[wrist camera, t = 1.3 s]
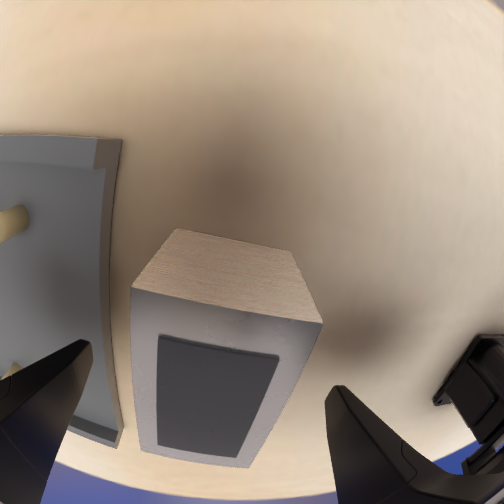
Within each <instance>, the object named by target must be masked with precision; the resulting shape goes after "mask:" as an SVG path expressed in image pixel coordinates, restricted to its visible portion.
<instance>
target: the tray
mask: <svg viewBox="0 0 504 504" xmlns="http://www.w3.org/2000/svg"><path fill="white" fill-rule="evenodd" d="M121 144H122V140H121V139H111V138H100V137H87V136H71V135H46V134H8V135H0V380H2V379H4V378H6V377H8V376H9V375H11V376H12V374H13V373H15V372H17V371H19V370H21V369H23V368H25V367H27V366H29V365H31V364H33V363H34V362H36V361H38V360H40V359H42V358H44V357H46V356H48V355H50V354H52V353H54V352H56V351H57V350H59V349H61V348H63V347H65V346H67V345H69V344H71V343H73V342H75V341H77V340H79V339H84V340H87V341H90V342H91V344H92V351H93V357H94V360H93V365H92V368H91V370H90V373H89V376H88V379H87V382H86V385H85V388H84V391H83V394H82V396H81V399H80V401H79V403H78V405H77V408H76V410H75V412H74V414H73V417H72V419H71V421H70V423H69V426H68V428H67V430H69V431H71V432H73V433H75V434H78V435H80V436H83V437H85V438H88V439H90V440H93V441H95V442H98V443H101V444H104V445H107V446H109V447H112V448H115V449H117V447H118V444H119V441H120V438H121V435H122V432H123V429H124V426H123V421H122V416H121V411H120V405H119V399H118V393H117V386H116V379H115V371H114V363H113V353H112V341H111V327H110V306H109V256H110V235H111V220H112V209H113V199H114V190H115V182H116V175H117V168H118V161H119V155H120V149H121Z"/></svg>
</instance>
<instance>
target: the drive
mask: <svg viewBox="0 0 504 504" xmlns="http://www.w3.org/2000/svg"><path fill="white" fill-rule="evenodd" d="M323 324H324V323H323V321H322V319H321V316H320V314H319V312H318V310H317V308H316V305H315V303H314V301H313V299H312V296H311V294H310V292H309V290H308V288H307V285H306V283H305V281H304V279H303V277H302V275H301V272H300V270H299V268H298V266H297V264H296V262H295V260H294V257H293V255H292V253H291V252H290V251H285V250H280V249H276V248H271V247H266V246H262V245H257V244H252V243H247V242H243V241H238V240H233V239H228V238H224V237H219V236H214V235H209V234H204V233H199V232H195V231H190V230H185V229H180V228H176V229H175V230H174V231H173V232H172V234H171V235H170V236H169V237H168V239H167V240H166V241H165V242H164V244H163V245H162V246H161V247H160V249H159V250H158V251H157V252H156V254H155V255H154V256H153V258H152V259H151V260H150V261H149V263H148V264H147V265H146V267H145V268H144V269H143V271H142V272H141V273H140V275H139V276H138V277H137V279H136V280H135V281H134V283H133V284H132V285H131V293H130V342H131V366H132V381H133V393H134V403H135V412H136V421H137V428H138V435H139V442H140V448H141V451H144V452H148V453H152V454H156V455H160V456H164V457H169V458H174V459H179V460H184V461H190V462H196V463H202V464H209V465H217V466H226V467H237V468H249V467H250V465H251V464H252V462H253V460H254V459H255V457H256V455H257V454H258V452H259V450H260V449H261V447H262V445H263V444H264V442H265V440H266V439H267V437H268V435H269V433H270V432H271V430H272V428H273V426H274V424H275V423H276V421H277V419H278V417H279V415H280V413H281V412H282V410H283V408H284V406H285V404H286V402H287V400H288V398H289V396H290V394H291V392H292V390H293V388H294V386H295V384H296V382H297V380H298V378H299V376H300V374H301V372H302V370H303V368H304V366H305V364H306V362H307V359H308V357H309V355H310V353H311V351H312V349H313V346H314V344H315V342H316V340H317V337H318V335H319V333H320V331H321V328H322V326H323Z"/></svg>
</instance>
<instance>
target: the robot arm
mask: <svg viewBox="0 0 504 504" xmlns="http://www.w3.org/2000/svg"><path fill="white" fill-rule="evenodd" d="M93 360H94V357H93V351H92V344H91V342H90V341H87V340H84V339H79V340H77V341H75V342H73V343H71V344H69V345H67V346H65V347H63V348H61V349H59V350H57V351H56V352H54V353H52V354H50V355H48V356H46V357H44V358H42V359H40V360H38V361H36V362H34V363H33V364H31V365H29V366H27V367H25V368H23V369H21V370H19V371H17V372H15V373H13V374H12V376H11V375H9V376H8V377H6V378H4V379H2V380H0V504H40V502H41V499H42V496H43V493H44V489H45V486H46V483H47V480H48V477H49V474H50V471H51V468H52V466H53V463H54V461H55V458H56V455H57V453H58V450H59V448H60V445H61V443H62V440H63V438H64V435H65V433H66V430H67V428H68V426H69V423H70V421H71V419H72V417H73V414H74V412H75V410H76V408H77V405H78V403H79V401H80V399H81V396H82V394H83V391H84V388H85V385H86V382H87V379H88V376H89V373H90V370H91V368H92V365H93ZM433 403H434V405H435V406H440V405H445V404H449V403H453V405H454V406H455V408H456V409H457V411H458V412H459V414H460V416H461V417H462V419H463V420H464V422H465V423H466V425H467V427H468V428H470V430H471V431H472V433H473V434H474V436H475V438H476V439H477V441H478V443H479V444H482V446H481V447H480V448H479V449H478V450H477V451H476V452H475V453H474V454H472V455H471V456H470V457H468V458H466V459H465V460H464V461H463V462H462V463H461V464H462V469H463V474H464V475H456V474H451V473H448V472H446V471H444V470H443V469H441V468H440V467H438V466H437V465H436V464H434V463H433V462H431V461H430V460H428V459H427V458H425V457H424V456H423V455H421V454H420V453H419V452H417V451H416V450H415V449H414V448H413V447H411V446H410V445H409V444H408V443H407V442H406V441H404V440H403V439H402V438H401V437H400V436H399V435H398V434H397V433H395V432H394V431H393V430H392V429H391V428H390V427H389V426H388V425H387V424H385V423H384V422H383V421H382V420H381V419H380V418H379V417H378V416H377V415H376V414H375V413H373V412H372V411H371V410H370V409H369V408H368V407H367V406H366V405H365V404H364V403H363V402H362V401H361V400H359V399H358V398H357V397H356V396H355V395H354V394H353V393H352V392H351V391H350V390H349V389H348V388H347V387H346V386H343V385H335V386H333V388H332V389H331V391H330V393H329V394H328V396H327V397H326V400H325V415H326V430H327V439H328V445H329V450H330V456H331V462H332V467H333V473H334V479H335V485H336V491H337V498H338V504H504V446H503V447H502V448H501V449H500V450H499V451H498V452H497V453H496V451H495V450H497V449H498V448H499V447H500V446H501V445H502V444H503V443H504V335H479V336H477V337H476V338H475V340H474V341H473V343H472V345H471V346H470V348H469V350H468V351H467V353H466V354H465V356H464V357H463V359H462V361H461V362H460V364H459V365H458V367H457V368H456V370H455V371H454V373H453V374H452V375H451V377H450V378H449V380H448V381H447V382H446V384H445V385H444V387H443V388H442V389H441V391H440V392H439V393H438V394H437V396H436V397H435V398H434V400H433Z"/></svg>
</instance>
